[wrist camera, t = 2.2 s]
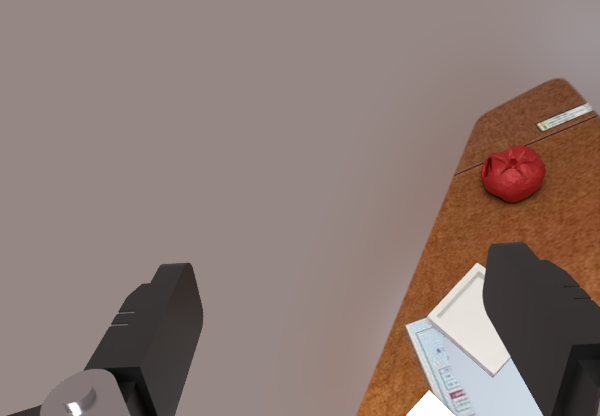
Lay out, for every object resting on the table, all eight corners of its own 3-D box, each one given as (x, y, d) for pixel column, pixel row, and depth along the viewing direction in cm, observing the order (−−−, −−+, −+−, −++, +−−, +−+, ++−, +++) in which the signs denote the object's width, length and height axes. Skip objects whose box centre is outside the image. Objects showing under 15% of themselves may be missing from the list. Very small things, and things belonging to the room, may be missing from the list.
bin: (544, 319, 63) (548, 313, 60) (492, 377, 62) (494, 374, 59) (476, 270, 70) (477, 262, 67) (428, 321, 69) (427, 316, 66)
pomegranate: (554, 181, 73) (566, 151, 65) (512, 217, 72) (519, 191, 65) (507, 151, 79) (513, 119, 71) (468, 184, 78) (469, 156, 70)
